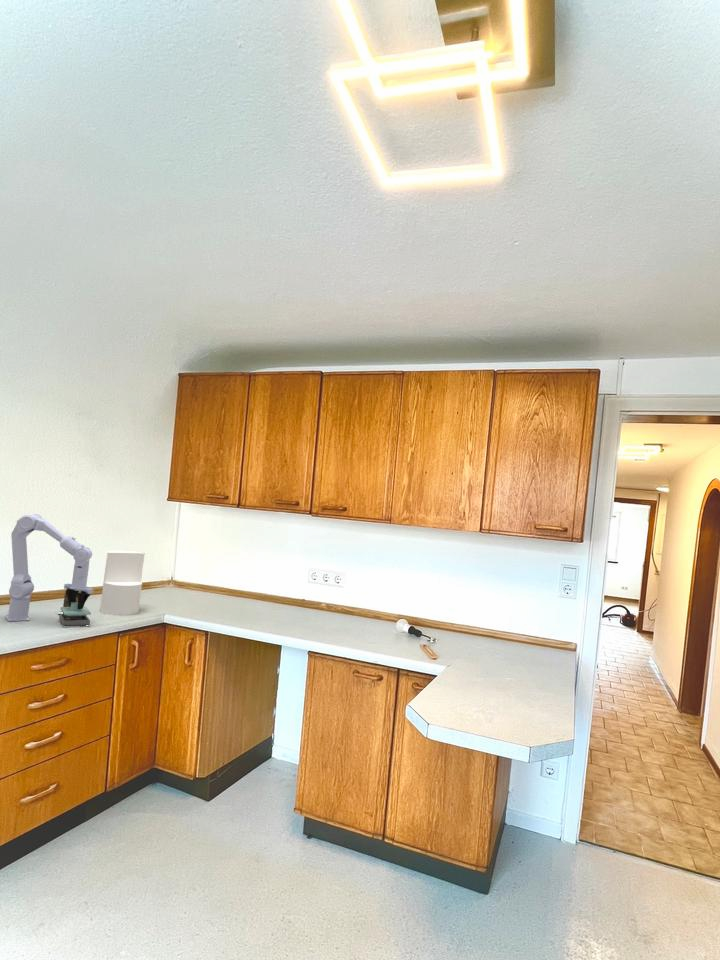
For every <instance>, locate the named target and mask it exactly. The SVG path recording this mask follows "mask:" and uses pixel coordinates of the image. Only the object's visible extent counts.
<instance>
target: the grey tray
mask: <svg viewBox="0 0 720 960" xmlns="http://www.w3.org/2000/svg"><path fill="white" fill-rule="evenodd" d="M58 616H59V617H58V621H59V620H60V621H59V622H61V623H60V625H61V626H62V625H63V626H80V627H87V626H86V625H91V619H90V618H89V617H88V615H87V616H67V615H64V614H60V615H58ZM63 626H62V627H63Z"/></svg>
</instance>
